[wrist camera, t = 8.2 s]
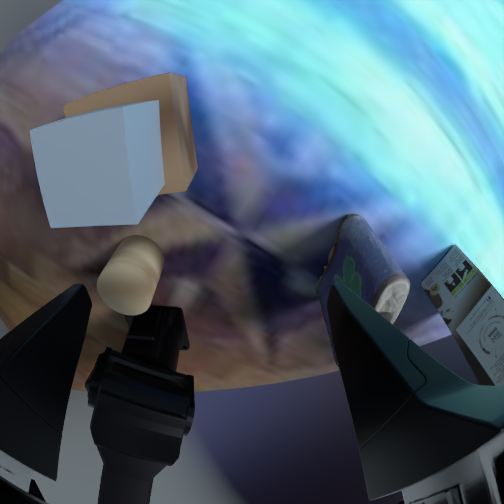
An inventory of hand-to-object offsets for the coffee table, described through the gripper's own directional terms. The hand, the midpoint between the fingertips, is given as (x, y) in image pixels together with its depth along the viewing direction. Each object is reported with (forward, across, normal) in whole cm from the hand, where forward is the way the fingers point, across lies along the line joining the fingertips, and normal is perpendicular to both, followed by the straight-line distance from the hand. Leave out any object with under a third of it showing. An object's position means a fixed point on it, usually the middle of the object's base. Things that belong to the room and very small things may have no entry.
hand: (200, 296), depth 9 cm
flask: (+13, -10, +7) cm, 18 cm away
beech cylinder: (+13, +8, +7) cm, 17 cm away
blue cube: (+8, +6, -4) cm, 11 cm away
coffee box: (+13, -26, +11) cm, 31 cm away
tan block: (+13, +6, -4) cm, 15 cm away
